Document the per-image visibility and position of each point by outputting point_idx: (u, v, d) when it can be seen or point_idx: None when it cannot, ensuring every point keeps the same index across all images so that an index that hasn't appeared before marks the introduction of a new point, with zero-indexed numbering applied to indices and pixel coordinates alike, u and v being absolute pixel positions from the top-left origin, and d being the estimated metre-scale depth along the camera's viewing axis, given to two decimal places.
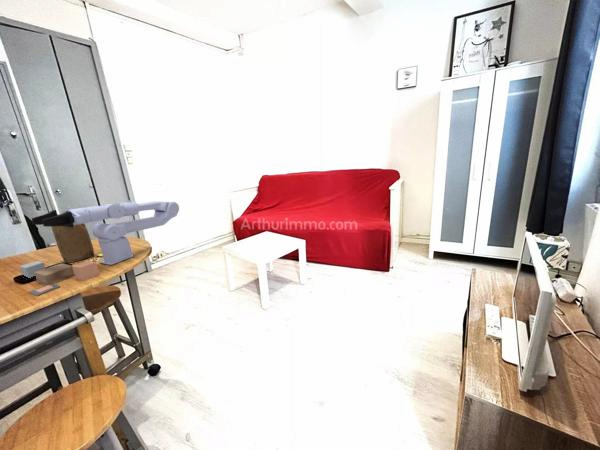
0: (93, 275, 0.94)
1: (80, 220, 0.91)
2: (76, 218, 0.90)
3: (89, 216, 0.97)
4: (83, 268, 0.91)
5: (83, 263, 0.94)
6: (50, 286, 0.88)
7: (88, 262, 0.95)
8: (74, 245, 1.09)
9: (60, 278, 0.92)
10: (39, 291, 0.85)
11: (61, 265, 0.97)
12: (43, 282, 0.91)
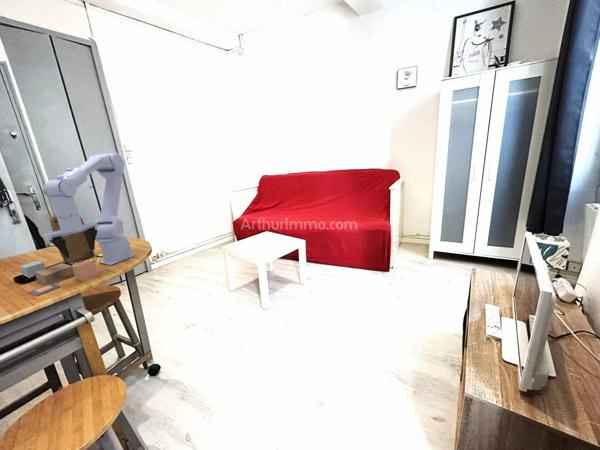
0: (93, 275, 0.94)
1: None
2: None
3: None
4: (83, 268, 0.91)
5: (83, 263, 0.94)
6: (50, 286, 0.88)
7: (88, 262, 0.95)
8: (74, 245, 1.09)
9: (59, 278, 0.92)
10: (39, 291, 0.85)
11: (61, 265, 0.97)
12: (43, 282, 0.91)
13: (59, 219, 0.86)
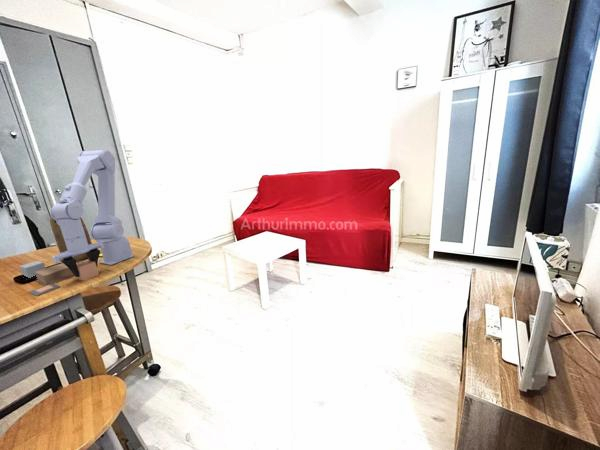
0: (93, 275, 0.94)
1: None
2: None
3: None
4: (83, 268, 0.91)
5: (83, 262, 0.94)
6: (50, 286, 0.88)
7: (88, 261, 0.95)
8: None
9: (59, 278, 0.92)
10: (39, 291, 0.85)
11: (61, 265, 0.97)
12: (42, 282, 0.91)
13: (66, 241, 0.88)
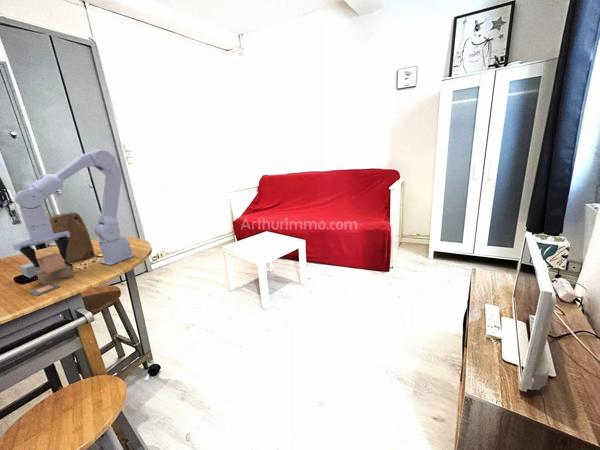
0: (59, 268, 0.93)
1: None
2: None
3: None
4: (47, 260, 0.90)
5: (49, 255, 0.93)
6: (50, 286, 0.88)
7: (54, 254, 0.94)
8: (74, 245, 1.09)
9: (58, 278, 0.92)
10: (39, 291, 0.85)
11: None
12: (42, 282, 0.91)
13: (28, 229, 0.87)
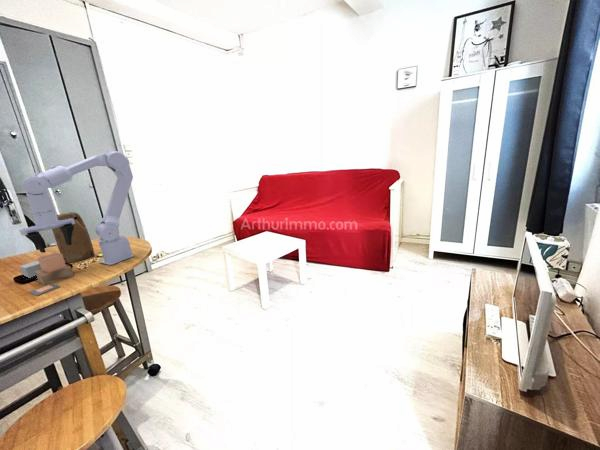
0: (60, 267, 0.94)
1: None
2: None
3: None
4: (49, 260, 0.91)
5: (50, 254, 0.94)
6: (50, 286, 0.88)
7: (55, 254, 0.94)
8: (74, 245, 1.09)
9: (57, 279, 0.92)
10: (39, 291, 0.85)
11: None
12: (41, 282, 0.91)
13: (34, 215, 0.89)
